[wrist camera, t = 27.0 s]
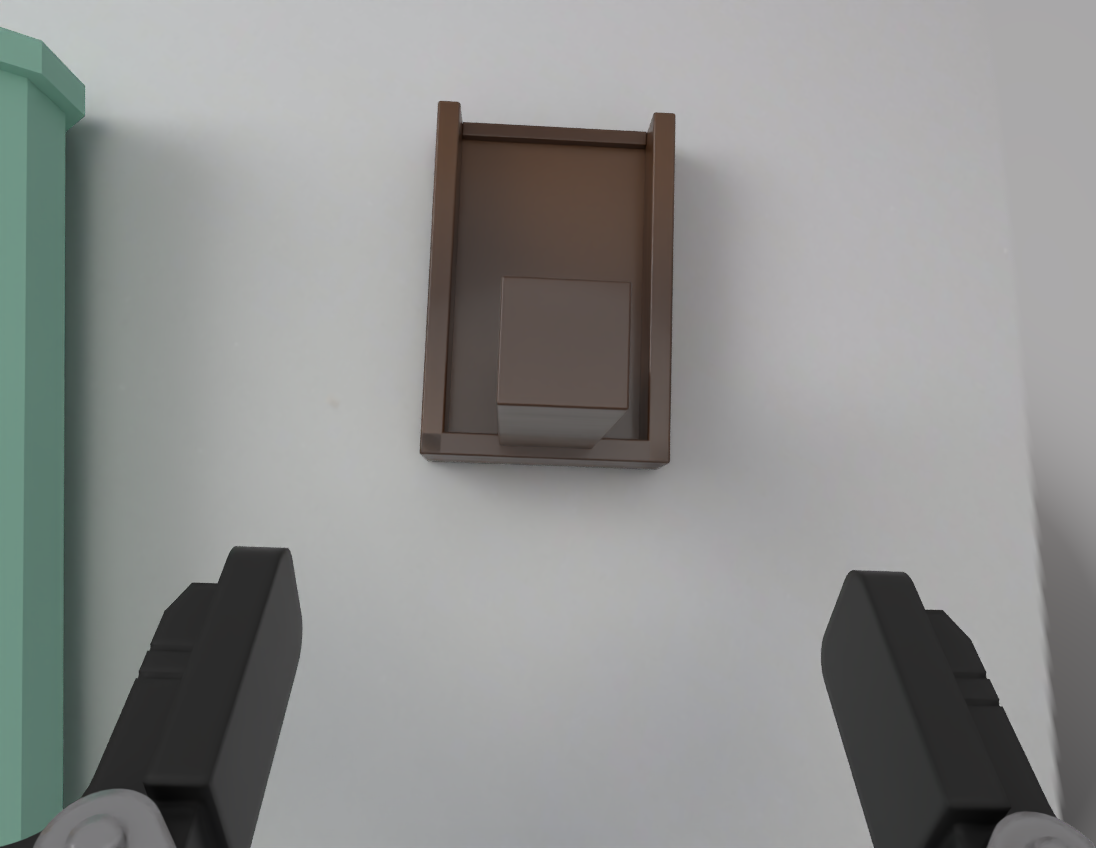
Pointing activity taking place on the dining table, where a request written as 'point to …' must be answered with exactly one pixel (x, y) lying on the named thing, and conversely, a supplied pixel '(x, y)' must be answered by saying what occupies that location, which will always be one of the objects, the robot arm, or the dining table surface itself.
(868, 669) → the robot arm
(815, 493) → the dining table surface
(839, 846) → the dining table surface
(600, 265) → the scoop
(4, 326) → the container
